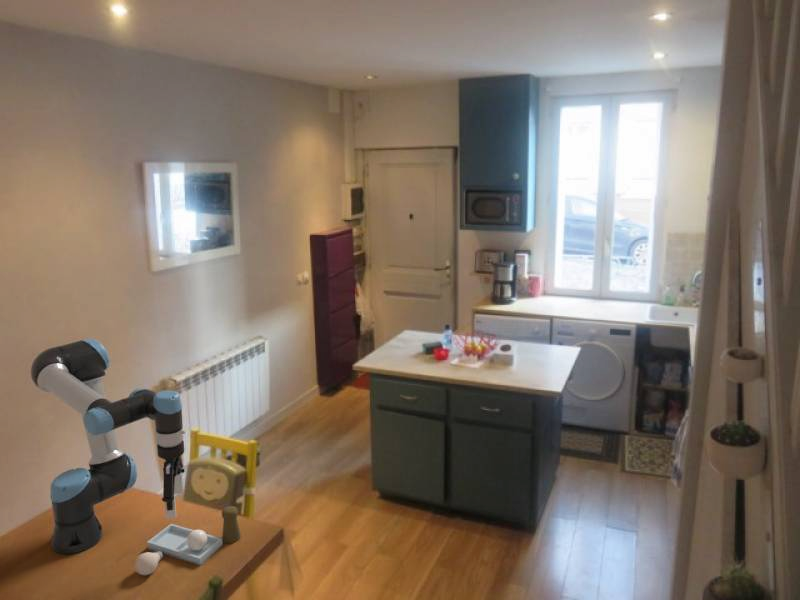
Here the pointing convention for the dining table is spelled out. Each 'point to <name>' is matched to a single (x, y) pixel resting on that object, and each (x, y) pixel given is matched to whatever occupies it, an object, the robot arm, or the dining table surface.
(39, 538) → the dining table surface
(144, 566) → the light bulb
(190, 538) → the white ball
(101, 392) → the robot arm
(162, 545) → the tray
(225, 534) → the pepper mill
